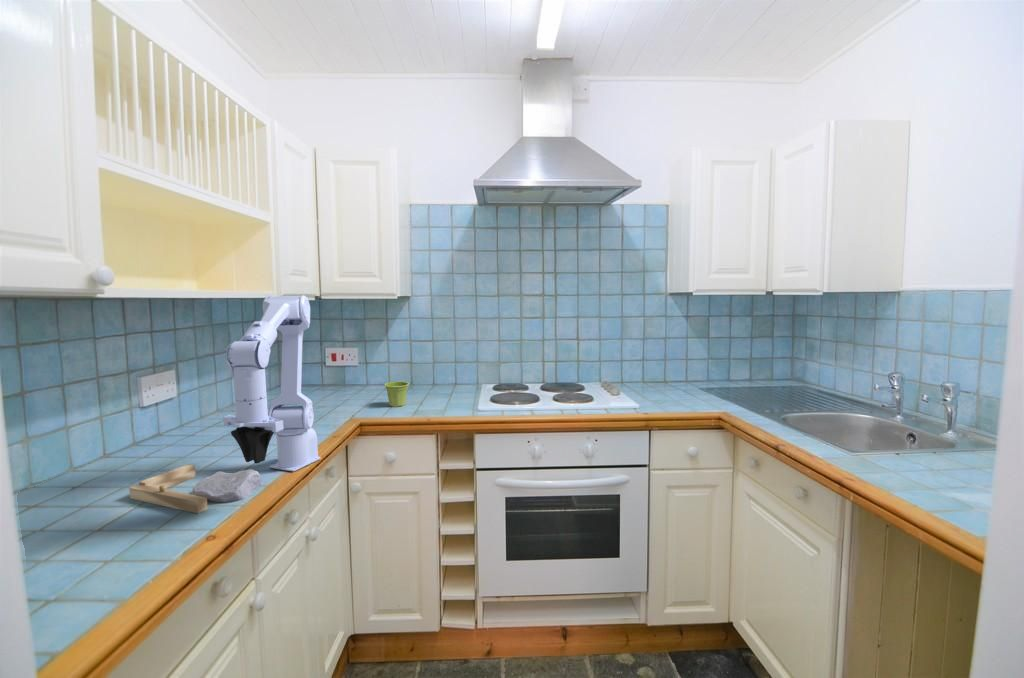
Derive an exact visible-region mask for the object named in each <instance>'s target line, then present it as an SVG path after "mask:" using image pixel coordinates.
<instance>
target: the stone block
mask: <svg viewBox="0 0 1024 678" xmlns="http://www.w3.org/2000/svg"><path fill="white" fill-rule="evenodd" d="M261 483H262V475H261V474H260V473H259V471H257V470H254V469H245V470H244V469H243V470H238V471H236V472H233V473H230V472H224V471H217V472H214V473H213V474H211V475H210V476H207V477H204V478H203V479H200V481H198V482H197V483H196V484H195V485H194V486H193V487H192V493H191V495H196V496H201V497H206V498H207V501H211V502H217V503H219V502H220V503H228V502H236V501H237V502H238V501H242V500H244V499H246V498H247V497H249V496H251V495H252V494H253V493H254V491H255V490H257V488H258V487H260V486H261Z"/></svg>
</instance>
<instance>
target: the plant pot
mask: <svg viewBox="0 0 1024 678" xmlns="http://www.w3.org/2000/svg"><path fill="white" fill-rule="evenodd" d="M409 384H410V383H409V382H407V381H391V382H386V383H384V386H385V389H386V393H387V398H388V406H389V407H393V408H394V407H395V408H399V407H404V406H405V405H406V401H407V400H406V399H407V392H408V391H407V390H408V388H409Z"/></svg>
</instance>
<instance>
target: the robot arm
mask: <svg viewBox="0 0 1024 678" xmlns="http://www.w3.org/2000/svg"><path fill="white" fill-rule="evenodd" d="M262 312H263V315H262V316H261V318H260V320H259V321H257V320H255V321H253V322H252V323H251V324H250V326H249V328H247V330H246V331H245V332H244V334H243V335H242V337H241V338H240V339H239V340H238V341H237V340H235V341H233V342H232V343H230V344H229V345H228V346H227V348H226V352H225V355H226V356H225V361H226V362H225V363H226V365H227V367H228V369H229V375H230V378H232V379H233V388H234V402H235V403H234V404H235V414H228V415H225V416H222V417H223V420H222V421H223V427H224V426H225V427H228V426H232V427H234V428H236V429H234V430H231V431H230V435H231V436H232V437H233V439H234V440H235V441H236V443H237V444H238V446H239V448H240V450H241V452H242V455H243V458H244V460H245V462H246V463H249V462H252V461H253V463H254V464H259V463H262V462H265V461H266V457H267V451H268V447H269V445H270V441H271V440H272V438H273V435H274V436H276V449H277V450H276V451H277V462H276V463H274V464H272V465H270V466H269V467H270V468H271V469H276V470H282V471H288V472H296V471H298V470H300V469H302V468H304V467H307V466H309V465H311V464H312V463H315V462H317V461H319V460H321V459H322V458H321V457H320V456H319V449H318V436H317V432H316V431H315V429H314V428H313V427H312V426H313V424H314V419H315V418H314V417H315V414H314V408H313V401H312V400H311V399H310V398H309V397H307V396H306V395H305V394H303V393H302V379H303V378H302V377H303V376H302V373H303V371H302V370H303V369H302V368H303V339H304V331H306V330H308V329H309V328H310V324H311V305H310V300H309V299H308V297H307V296H306V295H291V296H290V295H288V296H287V295H285V296H284V295H282V296H281V295H278V296H274V295H273V296H272V295H267V296H266V297H265V298H264V299H263V301H262ZM278 331H279V332H280V333H281V335H282V338H281V341H282V343H281V367H280V368H281V370H280V372H281V373H280V394H279V395H278V396H277V397H275V398H274V399H273V400H272V401H270V402H269V409H268V393H267V379H266V378H267V377H266V367H267V366H268V365H269V362H270V356H271V351H272V350H271V347H272V345H273V344H274V342H275V341H276V339H277V338H278ZM286 405H293V406H286ZM295 405H296V406H295ZM297 405H298V406H297Z"/></svg>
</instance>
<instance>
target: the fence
mask: <svg viewBox="0 0 1024 678" xmlns="http://www.w3.org/2000/svg"><path fill="white" fill-rule="evenodd" d="M193 478H196V466H195V464H191V463H188V464H185V465H183V466H180V467H177V468H174V469H171V470H168V471H165V472H162V473H160V474H156V475H154V476H152V477H149V478H146V479H144V480H140V481H138V482H139V483H138V484H136V485H133V486H129V487H128V489H129V490H128V491H129V497H130V498H129V499H131V500H136V501H140V502H144V503H149V504H152V505H153V504H154V505H159V506H161V507H162V506H163V507H166V508H172V509H176V510H179V511H180V510H181V511H185V512H190V513H193V514H200V513H203V512H204V511H206V510H208V500H207V498H206V497H201V496H196V495H192V493H191V494H190V493H185V492H179V491H175V490H172V489H171V490H170V489H168V488H170V487H173V486H176V485H179V484H181V483H183V482H186V481H188V480H191V479H193Z"/></svg>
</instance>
